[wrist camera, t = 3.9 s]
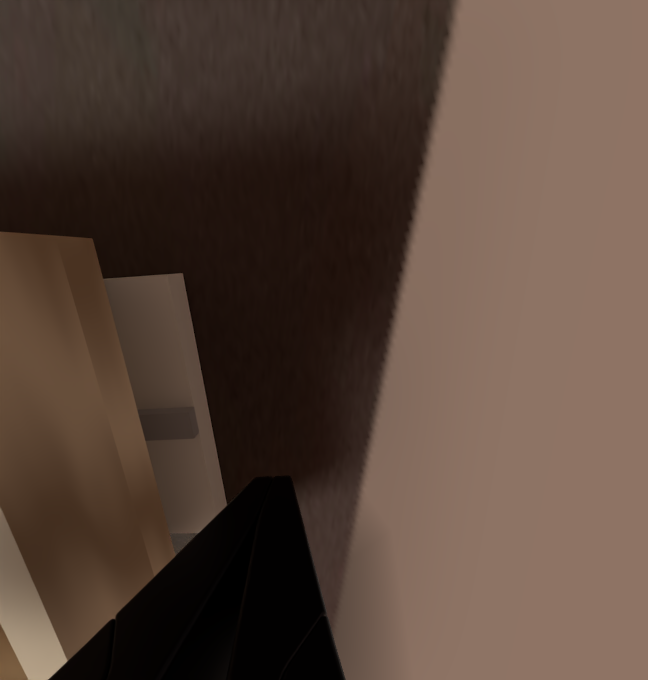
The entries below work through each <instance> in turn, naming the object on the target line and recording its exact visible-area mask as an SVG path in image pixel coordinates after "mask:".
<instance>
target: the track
mask: <svg viewBox="0 0 648 680" xmlns="http://www.w3.org/2000/svg"><path fill="white" fill-rule="evenodd" d="M103 280H104V284H105V288H106V292H107V296H108V300H109V303H110V307H111V311H112V315H113V319H114V323H115V326H116V330H117V334H118V338H119V342H120V346H121V349H122V353H123V357H124V361H125V365H126V369H127V372H128V376H129V380H130V384H131V388H132V392H133V395H134V399H135V403H136V407H137V411H138V415H139V418H140V422H141V426H142V430H143V434H144V438H145V441H146V445H147V449H148V453H149V457H150V461H151V464H152V468H153V472H154V476H155V480H156V484H157V487H158V491H159V495H160V499H161V503H162V507H163V510H164V514H165V518H166V522H167V526H168V530H169V533H170V534H178V533H199V532H200V531H201V530H202V529H203V528H204V527H205V526H206V525H207V524H208V523H209V522H210V521H211V520H212V519H213V518H214V517H215V516H216V515H217V514H219V513H220V512H221V511H222V510H223V509H224V508H225V507H226V506H227V502H226V497H225V492H224V487H223V481H222V476H221V471H220V466H219V461H218V455H217V450H216V445H215V440H214V434H213V429H212V424H211V419H210V414H209V408H208V403H207V398H206V393H205V387H204V382H203V377H202V372H201V366H200V361H199V356H198V351H197V346H196V340H195V335H194V330H193V325H192V319H191V314H190V309H189V304H188V298H187V293H186V288H185V283H184V278H183V273H177V274H163V275H149V276H135V277H122V278H108V279H103Z"/></svg>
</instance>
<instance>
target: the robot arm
mask: <svg viewBox="0 0 648 680" xmlns="http://www.w3.org/2000/svg"><path fill="white" fill-rule="evenodd" d="M48 680H346V679H345V676H344V672H343V669H342V666H341V662H340V659H339V656H338V652H337V649H336V645H335V642H334V638H333V634H332V630H331V626H330V622H329V619H328V617H327V612H326V608H325V604H324V600H323V596H322V593H321V589H320V585H319V581H318V577H317V573H316V570H315V566H314V562H313V558H312V554H311V550H310V547H309V543H308V539H307V535H306V531H305V527H304V524H303V520H302V516H301V512H300V508H299V504H298V501H297V497H296V493H295V489H294V485H293V481H292V478H291V476H275V477H274V478H273V477H271V476H265V477H256V478H254V479H253V480H252V481H251V482H250V483H249V484H248V485H247V486H246V487H245V488H244V489H243V490H242V491H241V492H240V493H239V494H238V495H237V496H236V497H235V498H234V499H233V500H232V501H231V502H230V503H229V504H228V505H227V506H226V507H225V508H224V509H223V510H222V511H221V512H220V513H219V514H217V515H216V516H215V517H214V518H213V519H212V520H211V521H210V522H209V523H208V524H207V525H206V526H205V527H204V528H203V529H202V530H201V531H200V532H199V533H198V534H197V535H196V536H195V537H194V538H193V539H192V540H191V541H190V542H189V543H188V544H187V545H186V546H185V547H184V548H183V549H182V550H181V551H180V552H179V553H178V554H177V555H176V556H175V557H174V558H173V559H172V560H171V561H170V562H169V563H168V564H167V565H166V566H165V567H164V568H163V569H162V570H161V571H160V572H158V573H157V574H156V575H155V576H154V577H153V578H152V579H151V580H150V581H149V582H148V583H147V584H146V585H145V586H144V587H143V588H142V589H141V590H140V591H139V592H138V593H137V594H136V595H135V596H134V597H133V598H132V599H131V600H130V601H129V602H128V603H127V604H126V605H125V606H124V607H123V608H122V609H121V610H120V611H119V612H118V613H117V614H116V616H115V619H111V620H109V621H108V622H107V623H106V624H105V625H104V626H103V627H102V628H101V629H100V630H99V631H98V632H97V633H96V634H95V635H94V636H93V637H92V638H91V639H90V640H89V641H88V642H87V643H86V644H85V645H84V646H83V647H82V648H81V649H80V650H79V651H78V652H77V653H76V654H74V655H73V656H72V657H71V658H70V659H69V660H68V661H67V662H66V663H65V664H64V665H63V666H62V667H61V668H60V669H59V670H58V671H57V672H56V673H55V674H53V675H52V676H51V677H50V678H49V679H48Z"/></svg>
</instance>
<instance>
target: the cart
mask: <svg viewBox="0 0 648 680" xmlns="http://www.w3.org/2000/svg"><path fill="white" fill-rule="evenodd" d="M174 557H175V553H174V549H173V545H172V541H171V537H170V533H169V530H168V526H167V522H166V518H165V514H164V510H163V507H162V503H161V499H160V495H159V491H158V487H157V484H156V480H155V476H154V472H153V468H152V464H151V461H150V457H149V453H148V449H147V445H146V441H145V438H144V434H143V430H142V426H141V422H140V418H139V415H138V411H137V407H136V403H135V399H134V395H133V392H132V388H131V384H130V380H129V376H128V372H127V369H126V365H125V361H124V357H123V353H122V349H121V346H120V342H119V338H118V334H117V330H116V326H115V323H114V319H113V315H112V311H111V307H110V303H109V300H108V296H107V292H106V288H105V284H104V280H103V276H102V273H101V269H100V265H99V261H98V257H97V253H96V250H95V246H94V242H93V238H81V237H68V236H54V235H40V234H26V233H13V232H0V680H48V679H49V678H50V677H51V676H52V675H53V674H55V673H56V672H57V671H58V670H59V669H60V668H61V667H62V666H63V665H64V664H65V663H66V662H67V661H68V660H69V659H70V658H71V657H72V656H73V655H74V654H76V653H77V652H78V651H79V650H80V649H81V648H82V647H83V646H84V645H85V644H86V643H87V642H88V641H89V640H90V639H91V638H92V637H93V636H94V635H95V634H96V633H97V632H98V631H99V630H100V629H101V628H102V627H103V626H104V625H105V624H106V623H107V622H108V621H109V620H111V619H115V616H116V614H117V613H118V612H119V611H120V610H121V609H122V608H123V607H124V606H125V605H126V604H127V603H128V602H129V601H130V600H131V599H132V598H133V597H134V596H135V595H136V594H137V593H138V592H139V591H140V590H141V589H142V588H143V587H144V586H145V585H146V584H147V583H148V582H149V581H150V580H151V579H152V578H153V577H154V576H155V575H156V574H157V573H158V572H160V571H161V570H162V569H163V568H164V567H165V566H166V565H167V564H168V563H169V562H170V561H171V560H172V559H173V558H174Z"/></svg>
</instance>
